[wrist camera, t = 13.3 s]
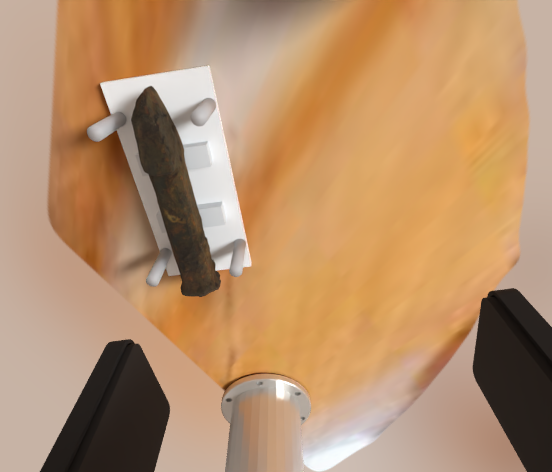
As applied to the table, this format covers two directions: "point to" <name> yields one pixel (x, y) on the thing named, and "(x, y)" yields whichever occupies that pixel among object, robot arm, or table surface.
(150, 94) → the dark brown rough rod
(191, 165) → the peg rack
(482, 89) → the table surface
